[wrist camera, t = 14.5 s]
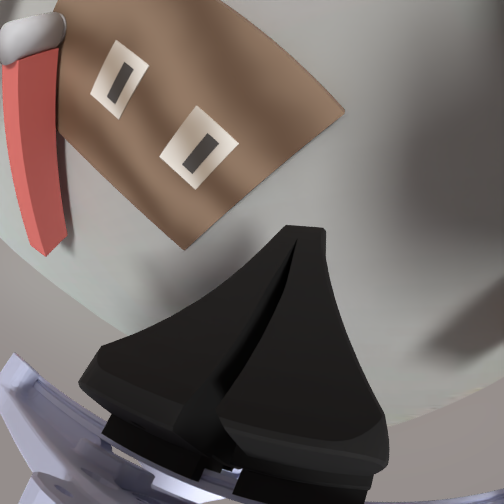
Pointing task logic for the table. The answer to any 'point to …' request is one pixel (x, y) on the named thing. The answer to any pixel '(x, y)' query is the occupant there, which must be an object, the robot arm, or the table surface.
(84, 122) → the label board
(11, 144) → the swing arm
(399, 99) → the table surface
